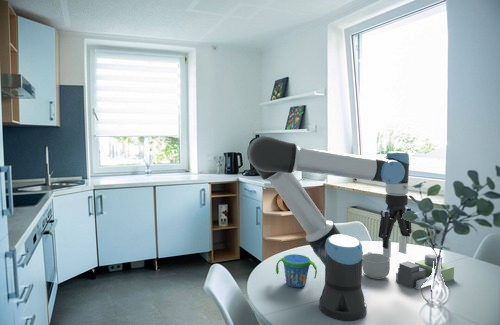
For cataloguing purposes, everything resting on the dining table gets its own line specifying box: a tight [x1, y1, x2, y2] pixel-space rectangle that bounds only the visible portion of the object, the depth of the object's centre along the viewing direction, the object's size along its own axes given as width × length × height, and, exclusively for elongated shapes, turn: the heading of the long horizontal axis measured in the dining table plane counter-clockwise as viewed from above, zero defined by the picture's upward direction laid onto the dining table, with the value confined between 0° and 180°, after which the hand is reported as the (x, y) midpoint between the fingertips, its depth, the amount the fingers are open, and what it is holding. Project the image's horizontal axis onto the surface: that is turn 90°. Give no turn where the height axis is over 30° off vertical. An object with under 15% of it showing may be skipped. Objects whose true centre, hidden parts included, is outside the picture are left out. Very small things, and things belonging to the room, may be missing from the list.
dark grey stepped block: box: [397, 260, 425, 290], centre depth 134 cm, size 8×6×8 cm
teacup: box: [362, 251, 391, 280], centre depth 143 cm, size 14×11×8 cm
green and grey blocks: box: [395, 253, 455, 291], centre depth 138 cm, size 21×11×8 cm, turn 119°
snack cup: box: [275, 253, 318, 289], centre depth 134 cm, size 16×10×10 cm
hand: (394, 254), depth 129 cm, fingers open, 8 cm apart
